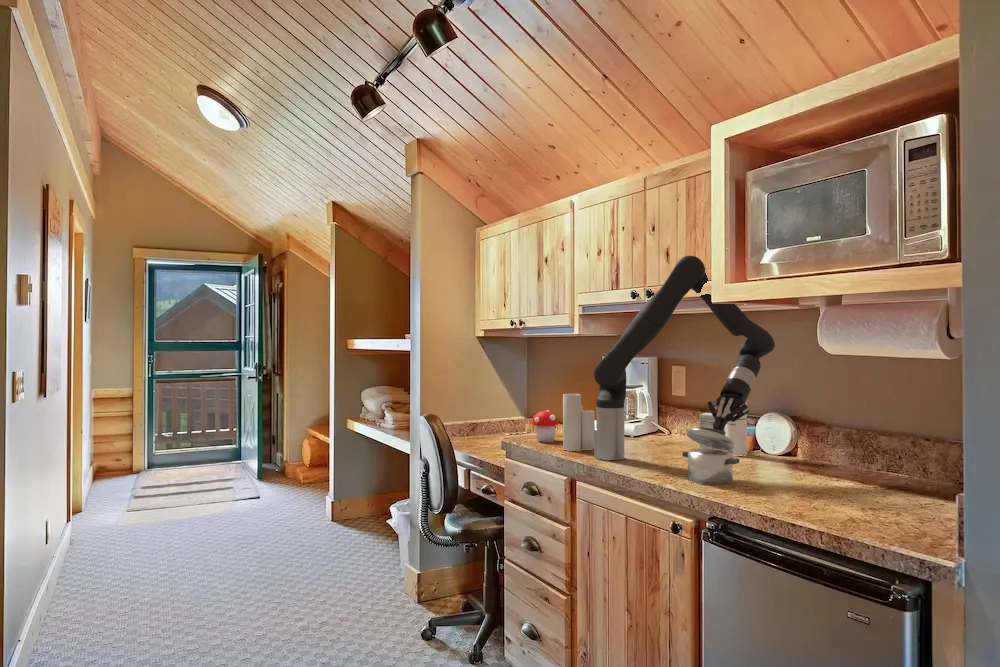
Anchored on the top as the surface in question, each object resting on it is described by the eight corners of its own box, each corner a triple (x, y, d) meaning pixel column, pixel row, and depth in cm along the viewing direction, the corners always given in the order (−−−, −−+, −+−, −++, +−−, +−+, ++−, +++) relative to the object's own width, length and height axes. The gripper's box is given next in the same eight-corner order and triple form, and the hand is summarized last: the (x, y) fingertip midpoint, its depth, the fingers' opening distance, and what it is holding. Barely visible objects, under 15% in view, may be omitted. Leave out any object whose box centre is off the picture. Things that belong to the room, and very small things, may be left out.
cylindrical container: (748, 456, 218) (748, 383, 219) (726, 456, 220) (726, 382, 220) (745, 453, 225) (744, 381, 226) (723, 452, 227) (723, 381, 227)
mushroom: (550, 443, 246) (550, 412, 246) (525, 441, 252) (525, 410, 252) (563, 440, 255) (563, 409, 255) (539, 437, 261) (539, 408, 261)
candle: (567, 452, 228) (567, 395, 229) (559, 448, 235) (559, 393, 235) (596, 450, 232) (596, 394, 232) (588, 447, 239) (588, 393, 239)
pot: (673, 478, 185) (673, 450, 185) (700, 472, 194) (699, 445, 194) (725, 488, 172) (724, 458, 173) (750, 481, 181) (750, 452, 181)
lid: (678, 429, 184) (681, 418, 185) (700, 446, 191) (703, 436, 192) (720, 434, 174) (723, 422, 175) (741, 452, 181) (744, 441, 182)
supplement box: (705, 446, 240) (705, 412, 240) (725, 448, 236) (725, 413, 236) (698, 449, 234) (698, 414, 234) (719, 451, 230) (719, 415, 230)
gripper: (713, 375, 196) (691, 419, 188) (755, 377, 186) (733, 424, 178) (722, 392, 200) (701, 435, 192) (764, 395, 190) (743, 441, 182)
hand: (716, 430), depth 185 cm, fingers closed
